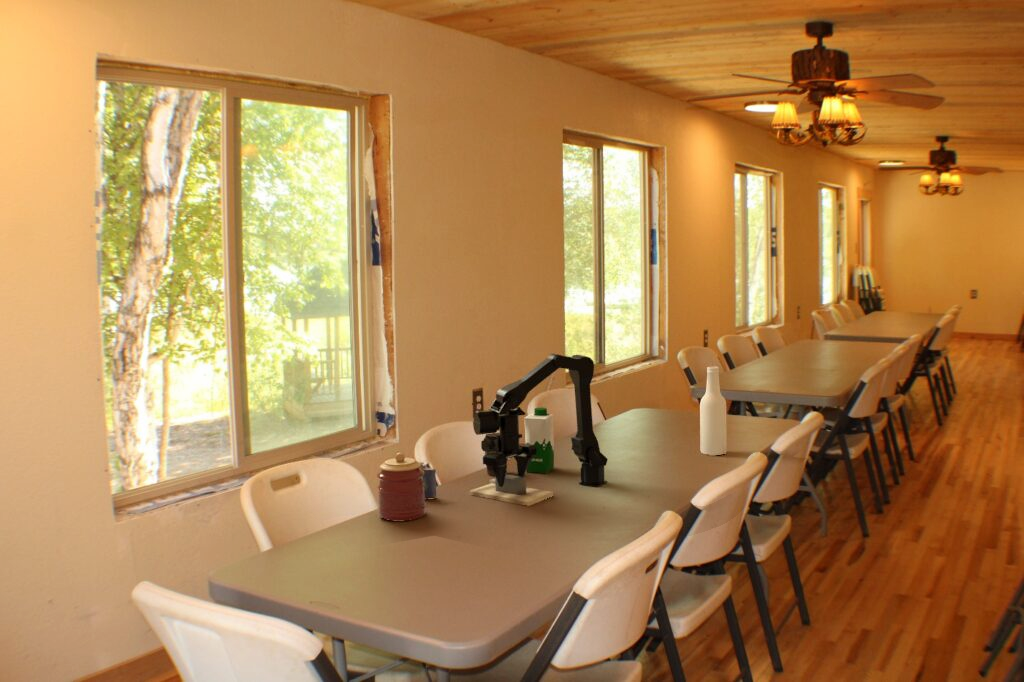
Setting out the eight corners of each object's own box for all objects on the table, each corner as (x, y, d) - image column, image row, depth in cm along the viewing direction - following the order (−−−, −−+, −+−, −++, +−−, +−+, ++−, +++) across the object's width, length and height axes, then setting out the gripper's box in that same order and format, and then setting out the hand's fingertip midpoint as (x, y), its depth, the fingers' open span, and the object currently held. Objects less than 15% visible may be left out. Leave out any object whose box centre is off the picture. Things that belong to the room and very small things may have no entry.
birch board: (553, 496, 274) (553, 492, 274) (528, 506, 264) (528, 501, 264) (495, 485, 287) (495, 482, 287) (469, 494, 278) (469, 490, 278)
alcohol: (730, 452, 322) (729, 366, 319) (721, 457, 315) (720, 369, 312) (705, 449, 327) (705, 364, 324) (696, 455, 320) (695, 368, 317)
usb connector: (528, 492, 274) (528, 477, 273) (521, 495, 271) (520, 480, 271) (495, 486, 282) (495, 472, 281) (487, 489, 279) (487, 474, 278)
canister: (388, 525, 250) (385, 460, 248) (372, 513, 262) (369, 451, 260) (433, 517, 256) (430, 454, 254) (415, 506, 268) (413, 445, 266)
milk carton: (557, 467, 308) (555, 407, 306) (547, 474, 299) (546, 412, 297) (532, 466, 311) (530, 406, 309) (522, 472, 303) (520, 411, 301)
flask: (438, 497, 276) (436, 462, 275) (433, 500, 273) (432, 464, 272) (410, 495, 279) (408, 460, 278) (405, 498, 277) (403, 462, 276)
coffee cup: (507, 477, 297) (505, 437, 296) (481, 476, 299) (480, 436, 297) (512, 470, 306) (511, 431, 304) (487, 470, 307) (486, 431, 306)
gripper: (507, 423, 286) (509, 473, 288) (467, 433, 272) (469, 486, 273) (536, 426, 279) (538, 477, 281) (497, 438, 265) (499, 491, 266)
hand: (510, 483), depth 275 cm, fingers open, 9 cm apart
